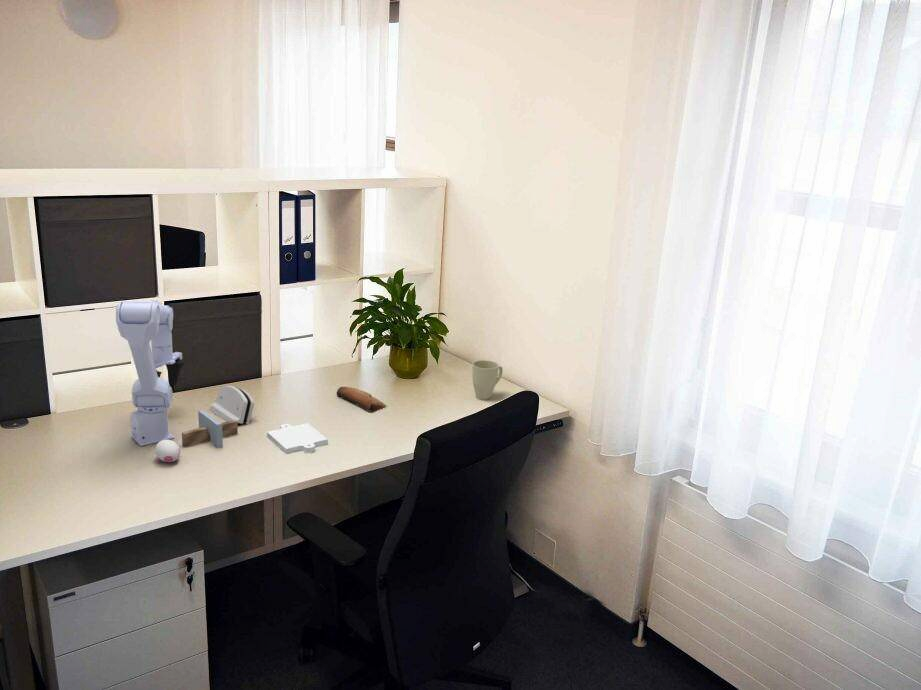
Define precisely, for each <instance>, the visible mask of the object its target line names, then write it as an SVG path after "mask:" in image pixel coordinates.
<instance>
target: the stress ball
mask: <svg viewBox="0 0 921 690" xmlns="http://www.w3.org/2000/svg"><path fill="white" fill-rule="evenodd" d="M154 450H155V454H156V456H157V457H158V459H159V460H158V461H157V463H158V464H160V462H161V461H162V462H166V463H172V462H173V463H174V462H175V461H177V460H178V459H179V457H180V458H181V457H182V456H180V454H181V450H180V447H179V445H178V444H177V443H176V442H175V441H173V440H172V439H168V440H162V441H160V442H157V444H156V445H155V448H154Z"/></svg>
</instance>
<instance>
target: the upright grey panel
mask: <svg viewBox="0 0 921 690" xmlns="http://www.w3.org/2000/svg"><path fill="white" fill-rule="evenodd" d="M197 414H198V428H202V427H205V428H207V433H209V434H210V441H209V442H210V443H211V444H212V445H214V446H215V447H216V448H222V447H223V446H224V443H223V439H224V437H223V438H222V423H223V422H221V421H219V420H218V419H216V418H215V417H214V416H212V415H211V414H210V413H209V412H207V411H206V410H205V409H201V410H198V411H197Z"/></svg>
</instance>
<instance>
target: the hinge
mask: <svg viewBox="0 0 921 690" xmlns="http://www.w3.org/2000/svg"><path fill="white" fill-rule="evenodd" d="M254 406H255V401H254V399H253V398H252V396H251V395H250V394H249V393H248V391H246V390H245V389H243V388H240V387H237V386H233V385H222V386H220V389H219V390H218V393H217V396H216V398H215V401H214V402H213V403H212V404H210V407H209V411H210V412H211V413H213V414H214V415H215V416H217V417H219V418H220V419H221V420H223V421H224V422H227V421H231V420H236V421H237V424H241V425H242V424H246V425H250V423H251V419H252V416H253V415H252V414H253V411H254V410H253V409H254Z"/></svg>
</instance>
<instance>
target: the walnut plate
mask: <svg viewBox="0 0 921 690" xmlns="http://www.w3.org/2000/svg"><path fill="white" fill-rule="evenodd" d="M221 423H222V438H223V439H224V438H228V437H230V436H234V435H238V423H237V421H236V420H231V421H227V422H226V421H224V422H221ZM208 442H210V434H209V433H207V428H205V427H202V428H199V427H197V428H193V429H190V430H185V431H181V445H182V447H184V448H186V447H191V446H195V445H198V444H203V443H208Z"/></svg>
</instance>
